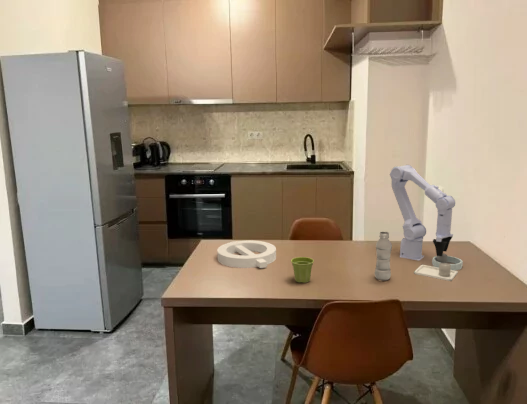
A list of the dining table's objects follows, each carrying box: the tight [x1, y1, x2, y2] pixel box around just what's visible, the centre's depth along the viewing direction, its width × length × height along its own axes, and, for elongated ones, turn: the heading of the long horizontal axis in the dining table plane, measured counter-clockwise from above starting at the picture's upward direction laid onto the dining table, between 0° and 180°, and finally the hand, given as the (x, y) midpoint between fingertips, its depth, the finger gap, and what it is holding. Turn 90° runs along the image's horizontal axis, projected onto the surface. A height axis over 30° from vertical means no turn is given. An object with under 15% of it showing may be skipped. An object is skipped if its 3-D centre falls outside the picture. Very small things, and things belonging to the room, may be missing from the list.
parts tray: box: [413, 264, 459, 282], centre depth 186 cm, size 15×11×1 cm
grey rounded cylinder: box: [439, 262, 451, 277], centre depth 183 cm, size 4×4×5 cm
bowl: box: [431, 255, 464, 271], centre depth 194 cm, size 12×12×3 cm
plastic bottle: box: [374, 231, 393, 282], centre depth 179 cm, size 6×7×20 cm
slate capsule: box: [436, 253, 448, 263], centre depth 196 cm, size 4×4×5 cm
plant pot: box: [290, 256, 315, 284], centre depth 181 cm, size 9×9×9 cm
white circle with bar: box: [216, 239, 277, 269], centre depth 211 cm, size 28×28×5 cm
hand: (441, 253), depth 195 cm, fingers open, 7 cm apart
